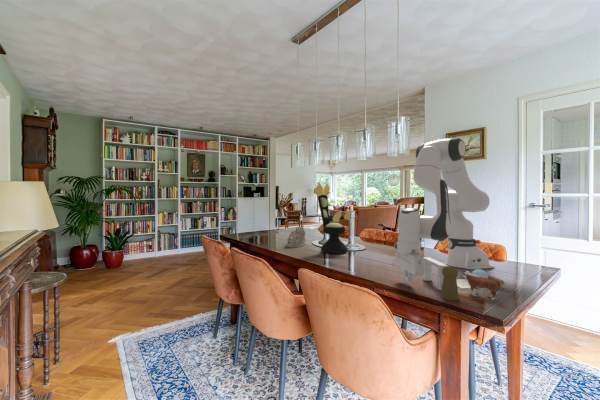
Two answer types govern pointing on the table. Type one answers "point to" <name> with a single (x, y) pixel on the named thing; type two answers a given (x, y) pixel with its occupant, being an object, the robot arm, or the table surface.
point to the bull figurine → (482, 284)
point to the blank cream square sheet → (463, 284)
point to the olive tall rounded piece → (449, 284)
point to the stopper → (497, 280)
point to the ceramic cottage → (296, 238)
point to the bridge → (428, 270)
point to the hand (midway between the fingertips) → (408, 280)
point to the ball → (480, 273)
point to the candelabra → (331, 228)
